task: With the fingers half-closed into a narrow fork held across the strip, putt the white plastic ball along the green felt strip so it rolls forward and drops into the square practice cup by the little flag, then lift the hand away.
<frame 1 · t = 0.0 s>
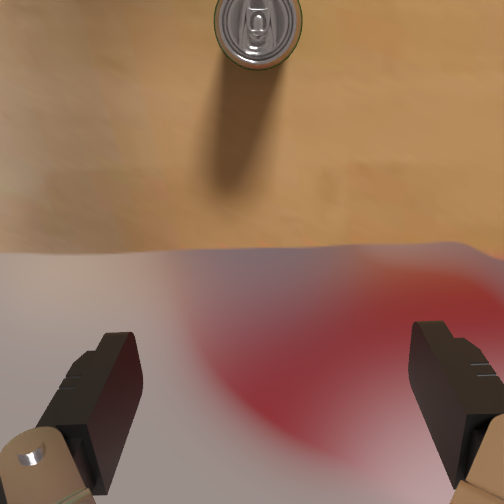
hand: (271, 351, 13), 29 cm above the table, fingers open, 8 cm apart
soda can: (260, 26, 36), on the table
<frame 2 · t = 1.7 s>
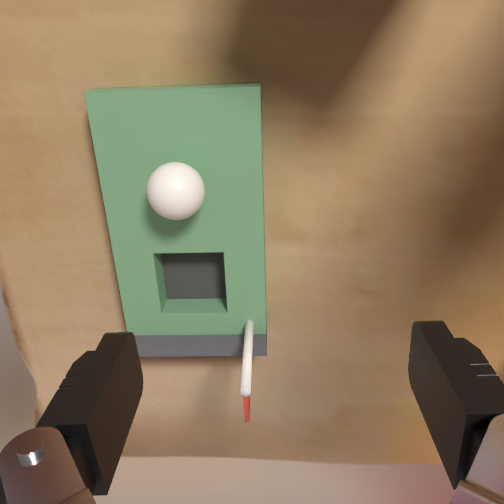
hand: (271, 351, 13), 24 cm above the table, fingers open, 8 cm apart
ball: (176, 191, 32), point 5 cm above the table, touching green
green: (190, 214, 38), on the table
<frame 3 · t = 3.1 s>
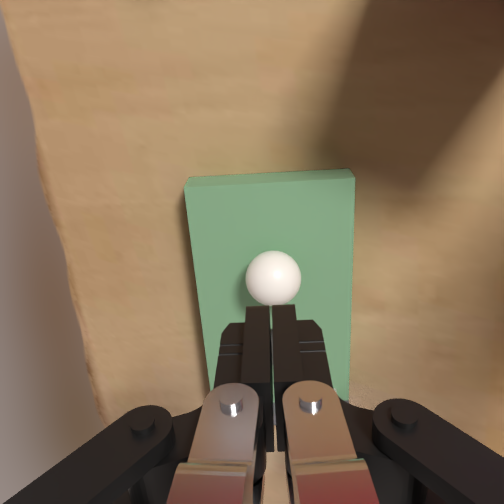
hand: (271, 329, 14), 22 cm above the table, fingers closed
ball: (273, 278, 33), point 5 cm above the table, touching green
green: (274, 289, 39), on the table
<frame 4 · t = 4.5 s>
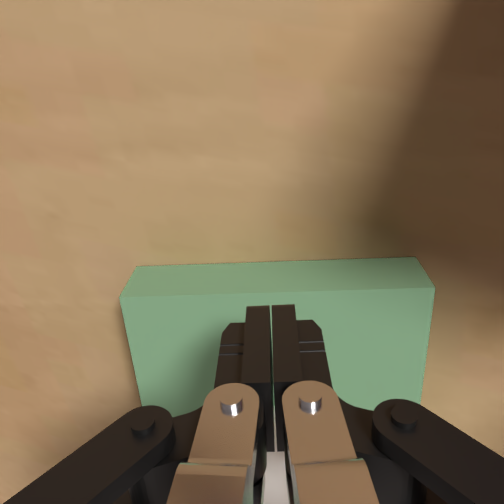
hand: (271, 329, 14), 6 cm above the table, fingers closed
ball: (280, 457, 18), point 5 cm above the table, touching green
green: (280, 432, 24), on the table
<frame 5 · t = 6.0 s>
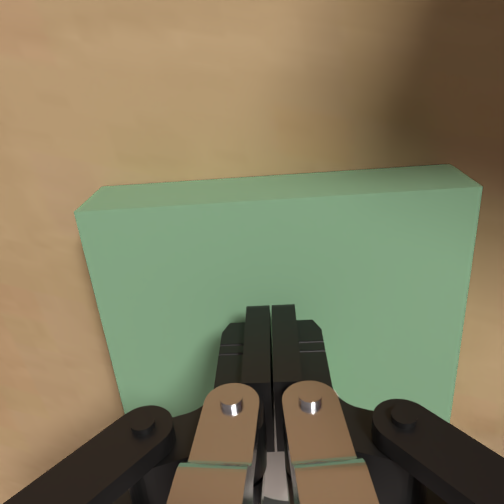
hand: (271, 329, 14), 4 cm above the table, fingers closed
ball: (285, 429, 15), point 5 cm above the table, tilted 12°, touching green, gripper
green: (285, 399, 20), on the table
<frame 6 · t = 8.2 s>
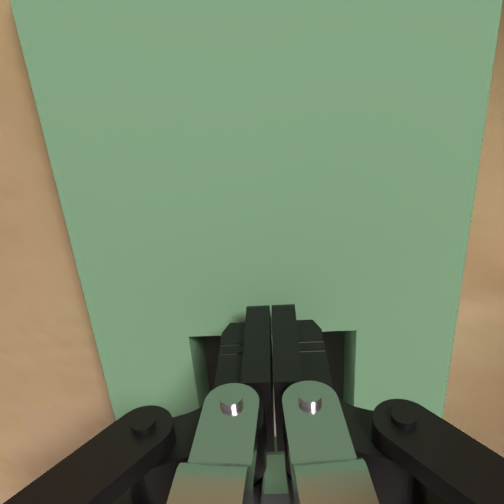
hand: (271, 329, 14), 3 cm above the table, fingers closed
green: (268, 241, 17), on the table
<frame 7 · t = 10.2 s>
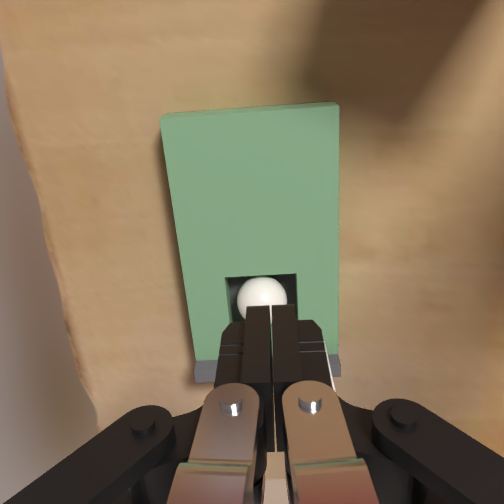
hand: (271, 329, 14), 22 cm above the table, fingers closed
ball: (261, 300, 37), point 2 cm above the table, tilted 131°, touching green
green: (258, 236, 37), on the table
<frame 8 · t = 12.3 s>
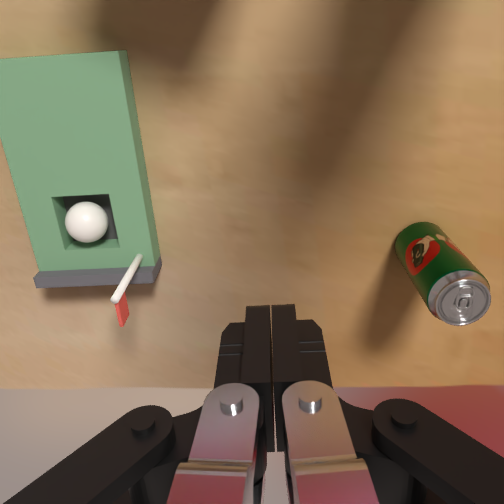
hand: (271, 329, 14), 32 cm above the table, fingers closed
ball: (86, 222, 45), point 2 cm above the table, tilted 120°, touching green
soda can: (417, 241, 48), on the table
green: (84, 165, 45), on the table
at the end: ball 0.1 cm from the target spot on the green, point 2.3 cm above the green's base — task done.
